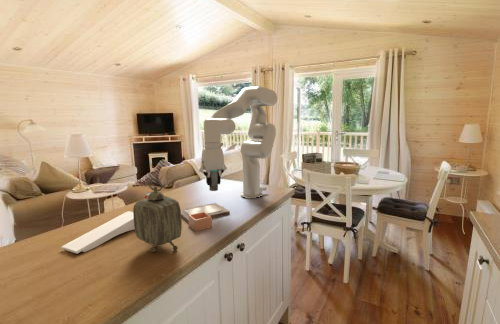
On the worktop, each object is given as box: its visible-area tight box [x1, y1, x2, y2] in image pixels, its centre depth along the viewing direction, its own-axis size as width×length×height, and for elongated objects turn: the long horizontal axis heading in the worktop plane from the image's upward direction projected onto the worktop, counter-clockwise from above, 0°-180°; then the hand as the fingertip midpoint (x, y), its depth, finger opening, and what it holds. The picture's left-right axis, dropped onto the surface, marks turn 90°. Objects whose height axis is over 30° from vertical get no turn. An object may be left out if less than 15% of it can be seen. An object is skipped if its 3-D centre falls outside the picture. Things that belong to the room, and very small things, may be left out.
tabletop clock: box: [132, 177, 183, 253], centre depth 93 cm, size 14×9×25 cm, turn 56°
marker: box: [208, 170, 219, 192], centre depth 129 cm, size 4×4×10 cm
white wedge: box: [60, 210, 135, 255], centre depth 105 cm, size 10×7×28 cm
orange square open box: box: [188, 212, 213, 232], centre depth 114 cm, size 7×7×4 cm
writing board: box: [180, 202, 231, 224], centre depth 129 cm, size 20×15×2 cm
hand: (213, 184), depth 130 cm, fingers closed on marker, 4 cm apart
